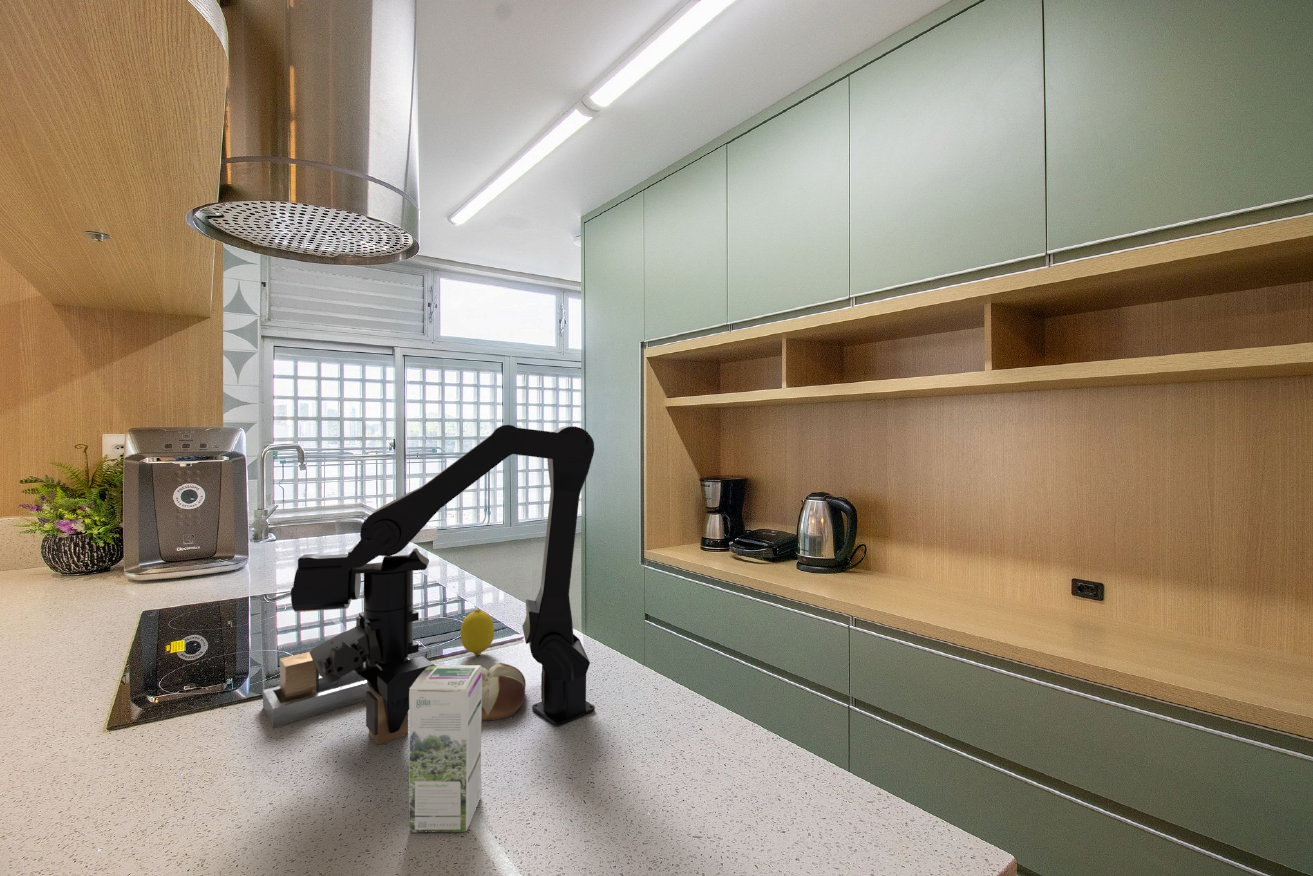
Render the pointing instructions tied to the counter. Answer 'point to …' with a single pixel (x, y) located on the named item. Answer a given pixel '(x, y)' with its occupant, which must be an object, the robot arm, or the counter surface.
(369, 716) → the upright wooden block
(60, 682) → the counter surface
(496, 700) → the bread
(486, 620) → the lemon
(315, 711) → the rail
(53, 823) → the counter surface
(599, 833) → the counter surface
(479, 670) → the syrup box
